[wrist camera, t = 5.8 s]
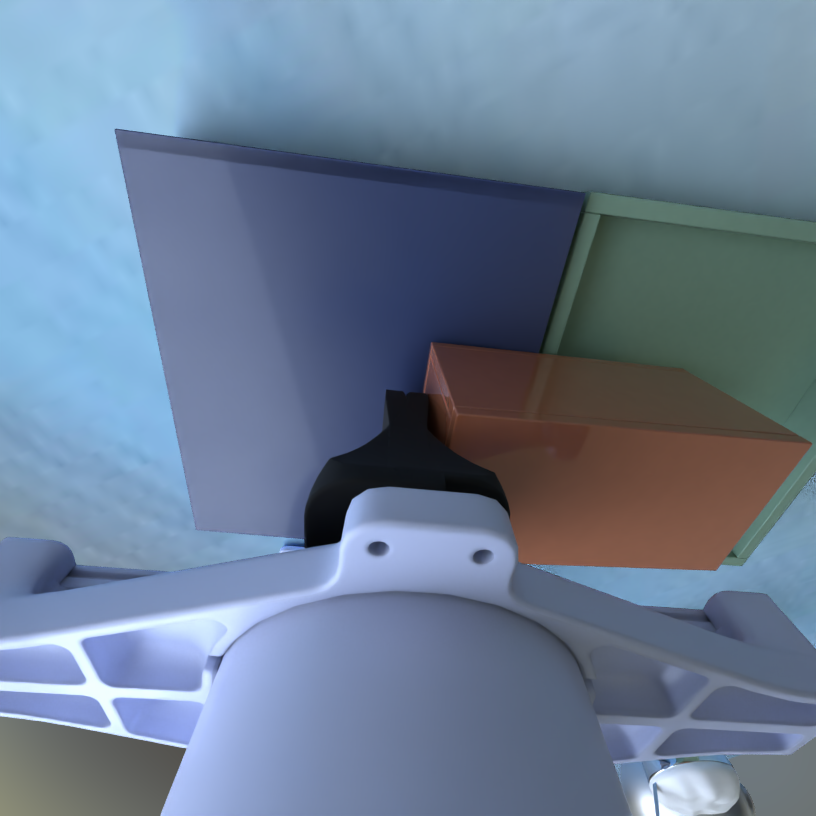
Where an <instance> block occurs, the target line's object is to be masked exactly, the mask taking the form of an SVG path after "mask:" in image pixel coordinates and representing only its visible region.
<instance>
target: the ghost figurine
mask: <svg viewBox="0 0 816 816" xmlns="http://www.w3.org/2000/svg"><path fill="white" fill-rule="evenodd" d="M620 782H621V785H622V788H623V791H624V794H625V797H626V799H627V802H628V805H629V808H630V810H631V813H632V816H656V814H655V804H654V795H653V794H652V792H651V790H650V787H649V784H648V781H647V778H646V775H645V772H644V769H643V766H642V763H641V762H631V763H621V766H620ZM658 802H659V801H658ZM659 811H660V816H686V815H683V814H681V813H679V812H676V811H674V810H671V809H669V808H667V807H666V806H664V805H663V804H662V803H660V802H659ZM696 816H755V808H754V803H753V801H752V799H751V796H750V795H749V793H748V791H747V790H746V789H745V787H744V786H743V785H742V784H741V783H740V795H739V799H738V800H737V802H736V803H735V804H734V805H733V806H732V807H731V808H730V809H729V810H728V811H727V812H725V813H720V814H700V815H696Z"/></svg>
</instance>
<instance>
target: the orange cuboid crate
mask: <svg viewBox="0 0 816 816" xmlns="http://www.w3.org/2000/svg"><path fill="white" fill-rule="evenodd" d="M423 393H426V394H427V396H428V399H429V404H428V420H427V429H428V430H429V431H430V432H431V433H432V434H433V435H434V436H435V437H436V438H437V439H438V440H439V441H440V442H442V443H443V444H444V445H445V446H447V447H448V448H449V449H451V450H452V451H453V452H455V453H457V454H458V455H460V456H461V457H463V458H465V459H467V460H468V461H470V462H472V463H474V464H476V465H478V466H481V467H483V468H485V469H488V470H490V471H492V472H495V474H496V476H497V478H498V480H499V482H500V484H501V486H502V488H503V490H504V492H505V495H506V498H507V501H508V504H509V509H510V523H511V526H512V529H513V532H514V535H515V539H516V542H517V545H518V562H520V563H523V564H538V565H567V566H596V567H625V568H654V569H683V570H713V571H716V570H717V569H718V568H719V566H720V565H721V564H722V562H723V561H724V560H725V558H726V557H727V556H728V555H729V553H730V552H731V551H732V549H733V548H734V547H735V545H736V544H737V543H738V541H739V540H740V539H741V538H742V536H743V535H744V534H745V532H746V531H747V530H748V528H749V527H750V526H751V524H752V523H753V522H754V521H755V519H756V518H757V517H758V515H759V514H760V513H761V511H762V510H763V509H764V507H765V506H766V505H767V503H768V502H769V501H770V500H771V498H772V497H773V496H774V494H775V493H776V492H777V490H778V489H779V488H780V486H781V485H782V484H783V483H784V481H785V480H786V479H787V477H788V476H789V475H790V473H791V472H792V471H793V469H794V468H795V467H796V466H797V464H798V463H799V462H800V460H801V459H802V458H803V456H804V455H805V454H806V452H807V451H808V450H809V449H810V447H811V446H812V444H813V443H811V442H810V441H808V440H806V439H805V438H803V437H801V436H799V435H798V434H796V433H794V432H792V431H791V430H789V429H787V428H785V427H784V426H782V425H780V424H778V423H777V422H775V421H773V420H771V419H770V418H768V417H766V416H764V415H763V414H761V413H759V412H758V411H756V410H754V409H752V408H751V407H749V406H747V405H745V404H744V403H742V402H740V401H738V400H737V399H735V398H733V397H731V396H730V395H728V394H726V393H724V392H723V391H721V390H719V389H717V388H716V387H714V386H712V385H711V384H709V383H707V382H705V381H704V380H702V379H700V378H698V377H697V376H695V375H693V374H691V373H689V372H688V371H686V370H684V369H683V368H674V367H664V366H655V365H645V364H636V363H627V362H617V361H608V360H598V359H589V358H579V357H570V356H560V355H551V354H541V353H532V352H522V351H513V350H503V349H494V348H484V347H475V346H465V345H456V344H446V343H437V342H431V346H430V352H429V358H428V364H427V370H426V375H425V381H424V387H423Z"/></svg>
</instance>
